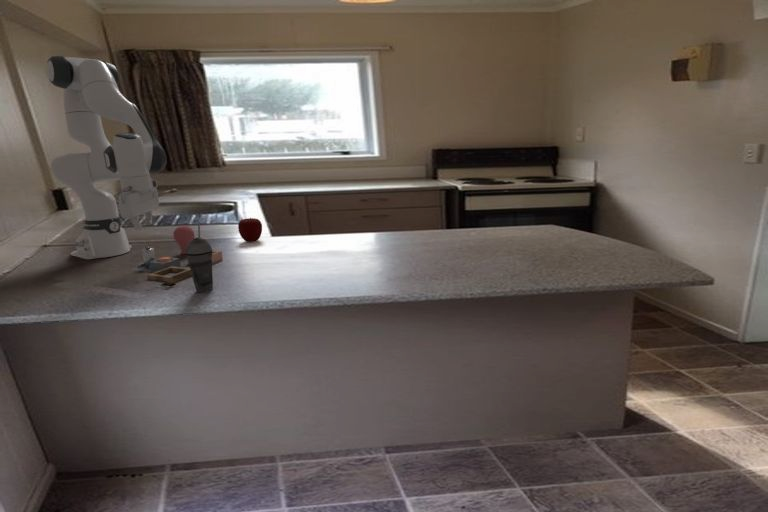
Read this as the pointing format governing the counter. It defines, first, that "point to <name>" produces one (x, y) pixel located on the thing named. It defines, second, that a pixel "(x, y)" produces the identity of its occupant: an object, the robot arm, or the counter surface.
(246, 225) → the apple
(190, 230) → the light bulb
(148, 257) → the cell
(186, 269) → the tray
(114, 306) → the counter surface
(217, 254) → the orange brown square block
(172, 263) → the cradle
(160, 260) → the test button
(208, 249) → the beverage cup
